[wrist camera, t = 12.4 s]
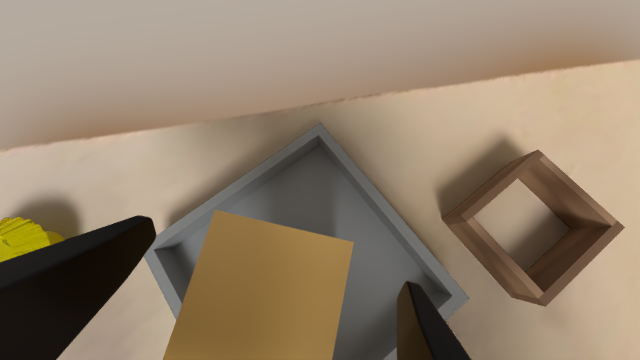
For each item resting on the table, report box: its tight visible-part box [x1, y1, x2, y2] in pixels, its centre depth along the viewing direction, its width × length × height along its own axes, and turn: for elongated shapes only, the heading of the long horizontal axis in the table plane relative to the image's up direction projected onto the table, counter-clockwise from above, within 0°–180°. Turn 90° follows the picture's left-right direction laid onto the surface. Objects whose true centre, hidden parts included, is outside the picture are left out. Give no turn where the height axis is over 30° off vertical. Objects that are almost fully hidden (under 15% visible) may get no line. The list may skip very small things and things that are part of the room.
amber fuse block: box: [163, 210, 354, 360], centre depth 13 cm, size 5×5×12 cm
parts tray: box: [144, 123, 470, 360], centre depth 18 cm, size 17×17×3 cm
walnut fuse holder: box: [442, 150, 625, 307], centre depth 19 cm, size 8×9×3 cm
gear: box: [0, 217, 65, 262], centre depth 19 cm, size 8×4×8 cm
